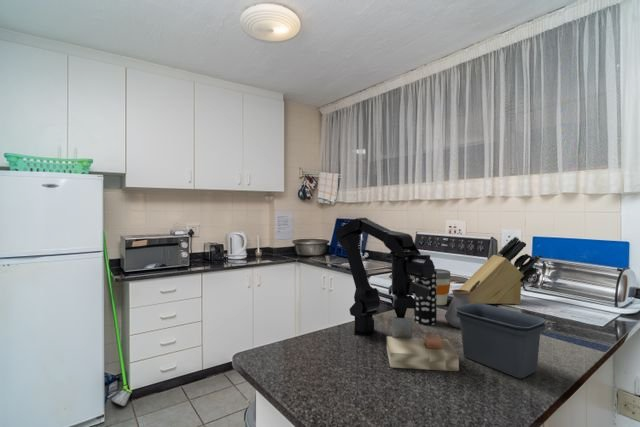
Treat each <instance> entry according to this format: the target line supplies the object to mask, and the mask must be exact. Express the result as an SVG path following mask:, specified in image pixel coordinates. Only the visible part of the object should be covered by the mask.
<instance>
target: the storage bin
mask: <svg viewBox="0 0 640 427" xmlns="http://www.w3.org/2000/svg"><path fill="white" fill-rule="evenodd" d="M455 310H456V311H457V312H456V316H457V317H458V318H460V324H461V328H460V332H461V344H462V352H463V356H464V357H465V358H467V359H469V360H472V361H474V362H476V363H478V364H481V365H484V366H487V367H489V368H492V369H494V370H496V371H500V372H502V373H504V374H506V375H510V376H512V377H515V378H517V379H524V378H526V377H528V376H531V375H532V374H533V373H535V372H537V370H538V362H539V360H538V359H539V349H540V339H541V332H542V331H545V330H546V324H545V323H547V322H548V320H547V319H545V318H543V317H539V316H536V315H532V314H529V313H523V312H520V311H516V310H510V309H508V308H502V307H499V306H493V305H491V304H480V303H472V304H467V305H463V306H458V307H455Z"/></svg>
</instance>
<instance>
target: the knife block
mask: <svg viewBox="0 0 640 427" xmlns="http://www.w3.org/2000/svg"><path fill="white" fill-rule="evenodd" d="M525 247H527V243H526V242H524V241H522V240H520V238H519V237H518V236H514V237H513V238H512V239H511V240H509V241H508V242H507V243H506V244H505V245H504V246H502V248H501V249H500V250H499V251H498V252H497V254H492V256H490V258H489V259H487V261H485V262H484V264H482V265H481V266H480V267H479V268H478V269H477V270H476V271H475V272H474V273H473V274H472V275H471V276H470V277H469V278H468V279H467V280H466V281H465V282H464V283H463V284H462V285H461V286H460V287H459V288H458V289H459V290H467V291H470V289H471V288H472V287H473V285H475V283H477V281H481V282H480V283H479V284H480V285H477V287H476V288H475V289H474V290H473V291H472V292H471V293H470V295H469V297H468V298H469V300H470V302H471V304H472V303H480V304H486V305H491V304H493V305H495V304H499V305H500V304H505V305H520V304H521V296H522V292H521V291H522V284H523V283H525V282H526V281H528V280H529V279H531V277H532V276H534V275H535V274H536V273H539V271H540V270H539V268H537V267H534V265H535V264H536V263H537V262H538V261H539V260H541V258H540V256H538V255H536V256H534V257H532V255H529V254H528V253H524V254H522V255H520V256H519V257H517V255H519V254H520V253H521V251H522V250H524V248H525ZM515 257H517V258H516V259H515ZM513 259H515V261H514V263H512V260H513ZM528 259H529V260H528ZM482 283H483V284H482Z"/></svg>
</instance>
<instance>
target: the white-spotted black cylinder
mask: <svg viewBox="0 0 640 427" xmlns="http://www.w3.org/2000/svg"><path fill="white" fill-rule="evenodd" d="M417 280H421V281H423V285H425V286H426V287H428V288H429V289H430V291H429V294H428V296H427V299H424V298H422V297H421V296H418V295H416V294H413V298H414V299H415V301H416V308H415V309H413V321H414V323H416V324H418V325H422V326H434V325H437V319H438V318H437V316H438V315H437V311H438V310H437V307H438V305H437V271H436V270H434V274H433V276H432V277H431V278H429V279H427V278H422V277H416V276H413V282H415V281H417Z"/></svg>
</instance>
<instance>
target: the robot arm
mask: <svg viewBox="0 0 640 427" xmlns="http://www.w3.org/2000/svg"><path fill="white" fill-rule="evenodd" d="M364 233H365V234H367V235H370V236H371V237H372V238H375V239H377V240H378V241H380V242H382V243H383V244H384V246H385V248H387V249H388V250H389V251H390V252H389V253H388V254H387V255H386V256H385V257H386V259H390V260H391V274H390V279H391V285H389V287H388V291H387V292H388V295H389V296H390V295H391V296H392V297H391V298H390V302H391V304H392V307H393V310H394V313H395V315H396V317H404V318H406V314H407V309H413V310H414V309H415V308H416V301H415V299H414V294H416V295H418V296H421V297H422V298H424V299H427V296H428V294H429V291H430V289H429V288H428V287H426V286H425V285H423V281H421V280H417V281H415V282H414V279H413V278H412V277H411V276H413V277H414V276H416V277H422V278H427V279H429V278H431V277H432V276H433V274H434V270H435V269H436V268H435V265H434V261H433V260H432V259H431V255H430V254H422V253H421V252H420V250H419V248H418V247H417V245H416V243H415V241H414V238H413V236H412V235H411V234H409V233H405V232H401V231H395V230H391V229H388V228H386V227H384V226H382V225H380V224H378V223H376V222H374V221H372V220H371V219H368V218H367V217H357V218H355V219H353V220H352V221H349V222H347V223H344V224H343V225H339V226H338V227H337V228H336V232H335V234H336V236H335V237H336V239H337V241H338V244H339V245H340V246H341V247H342V248H343V249H344V251H345V254H346V258H347V260H348V265H349V268H350V272H351V274H352V279H353V283H354V286H355V292H354V296H353V299H354V303H353V305H351V307H350V308H349V313H350V316H353V317H354V328H353V329H354V330H353V334H354V335H363V336H364V335H365V336H366V335H367V336H373V335H374V332H375V318H374V317H373V315H376V314H378V313H377V312H378V311H379V310H378V309H379V308H380V305H381V301H380V300H381V297H380V295H379V290H378V289H377V287H374V288H373V287H372V286H371V285H370V282H369V278H368V275H367V273H366V269H365V265H364V262H363V259H362V255H361V251H360V248H359V246H360V242H361V235H362V234H364Z"/></svg>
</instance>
